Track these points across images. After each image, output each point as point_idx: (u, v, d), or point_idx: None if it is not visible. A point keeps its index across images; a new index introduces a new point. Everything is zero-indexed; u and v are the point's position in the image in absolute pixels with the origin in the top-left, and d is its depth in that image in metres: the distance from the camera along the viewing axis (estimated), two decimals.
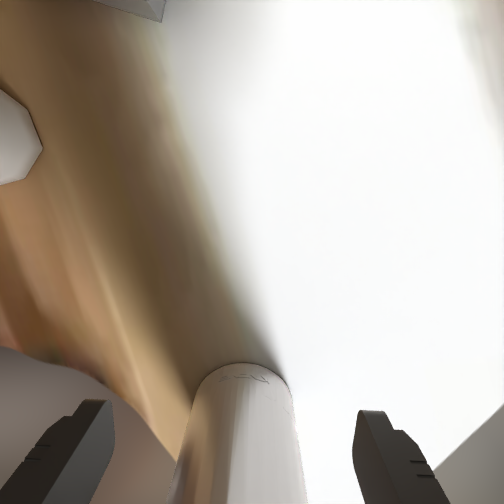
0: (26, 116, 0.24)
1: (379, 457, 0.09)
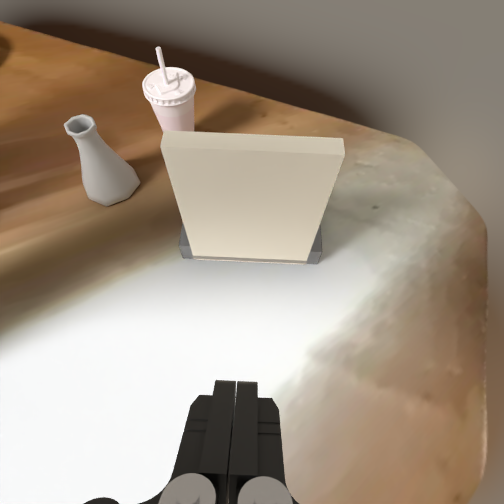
0: (123, 197, 0.42)
1: (234, 418, 0.10)
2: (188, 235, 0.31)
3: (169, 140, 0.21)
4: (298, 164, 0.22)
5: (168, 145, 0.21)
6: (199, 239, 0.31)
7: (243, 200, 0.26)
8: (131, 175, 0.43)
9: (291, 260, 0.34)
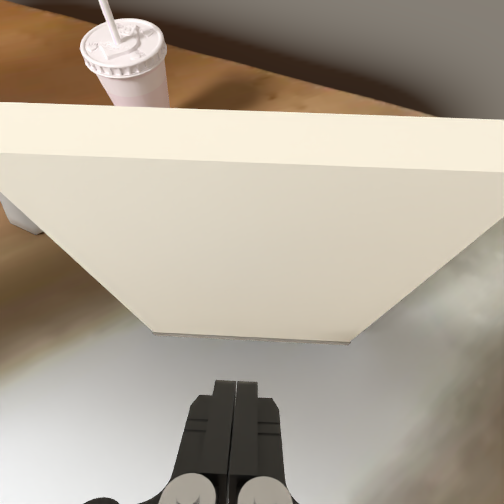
0: None
1: (234, 418, 0.10)
2: (134, 312, 0.16)
3: None
4: (388, 201, 0.07)
5: None
6: (156, 317, 0.17)
7: (233, 269, 0.11)
8: None
9: (323, 341, 0.20)
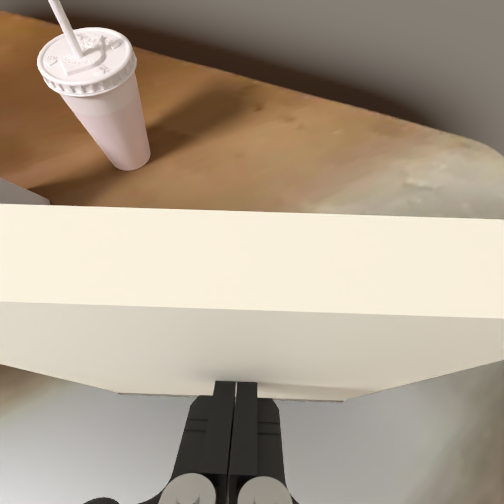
0: None
1: (234, 418, 0.10)
2: (88, 384, 0.14)
3: None
4: (386, 336, 0.05)
5: None
6: (116, 387, 0.14)
7: (189, 368, 0.09)
8: None
9: (312, 399, 0.18)
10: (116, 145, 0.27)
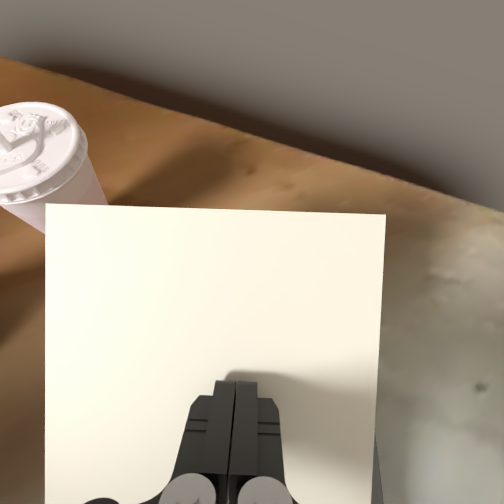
0: None
1: (234, 418, 0.10)
2: None
3: None
4: (303, 242, 0.12)
5: (62, 205, 0.12)
6: None
7: (195, 354, 0.12)
8: None
9: None
10: None
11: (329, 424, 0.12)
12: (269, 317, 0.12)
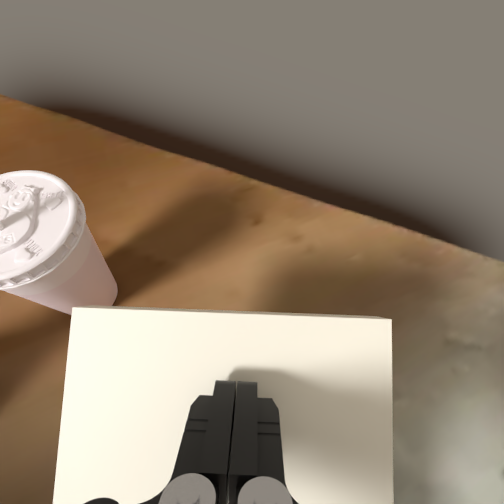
0: None
1: (234, 418, 0.10)
2: None
3: (93, 307, 0.13)
4: (315, 345, 0.12)
5: (87, 308, 0.12)
6: None
7: None
8: None
9: None
10: (64, 308, 0.20)
11: None
12: (283, 421, 0.12)
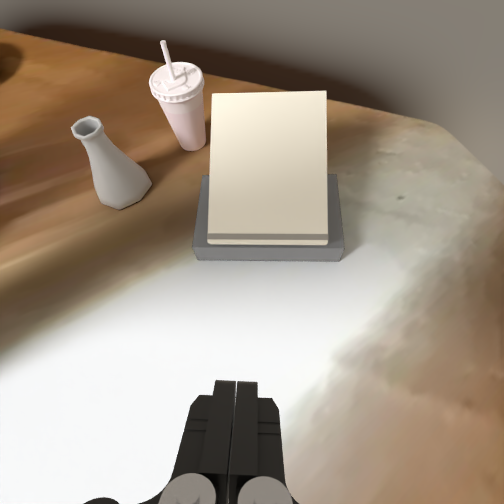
0: (135, 200, 0.41)
1: (234, 418, 0.10)
2: (210, 194, 0.33)
3: None
4: (298, 101, 0.34)
5: None
6: (219, 200, 0.33)
7: (262, 139, 0.34)
8: (142, 176, 0.41)
9: (312, 235, 0.32)
10: (188, 133, 0.42)
11: (310, 161, 0.33)
12: (287, 126, 0.34)
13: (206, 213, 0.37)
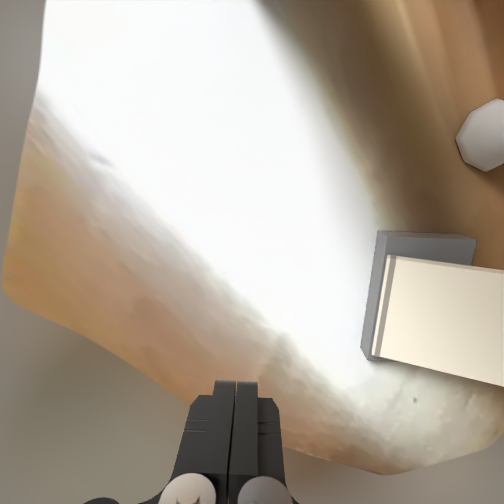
0: (464, 157, 0.36)
1: (234, 418, 0.10)
2: (438, 266, 0.34)
3: None
4: None
5: None
6: (430, 274, 0.34)
7: (493, 324, 0.33)
8: (495, 166, 0.35)
9: (380, 344, 0.38)
10: None
11: (455, 360, 0.35)
12: (503, 351, 0.33)
13: (424, 247, 0.37)
